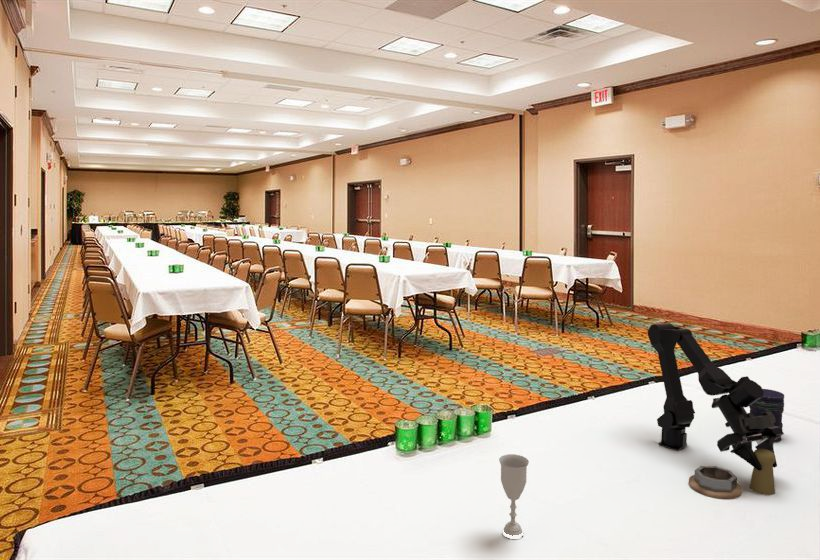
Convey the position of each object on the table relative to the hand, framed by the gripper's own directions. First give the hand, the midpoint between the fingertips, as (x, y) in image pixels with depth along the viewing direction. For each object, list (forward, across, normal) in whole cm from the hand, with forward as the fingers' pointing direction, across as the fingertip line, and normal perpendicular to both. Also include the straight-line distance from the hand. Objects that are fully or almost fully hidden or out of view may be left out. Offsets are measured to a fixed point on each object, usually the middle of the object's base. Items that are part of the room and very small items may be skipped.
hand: (768, 468), depth 160 cm
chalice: (+1, -74, +9) cm, 74 cm away
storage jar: (-16, +33, +25) cm, 44 cm away
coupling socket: (0, -11, +10) cm, 14 cm away
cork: (+4, 0, +6) cm, 7 cm away
